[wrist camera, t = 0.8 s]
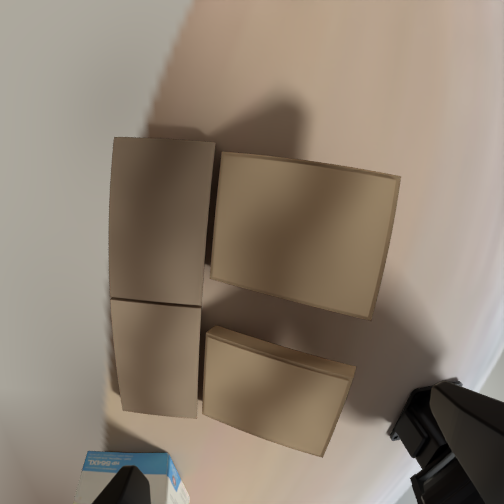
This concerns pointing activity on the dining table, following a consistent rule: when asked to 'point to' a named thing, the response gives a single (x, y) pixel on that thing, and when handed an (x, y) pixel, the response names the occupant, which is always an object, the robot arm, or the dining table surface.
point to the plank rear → (273, 390)
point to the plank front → (303, 230)
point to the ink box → (150, 464)
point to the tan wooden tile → (158, 269)
